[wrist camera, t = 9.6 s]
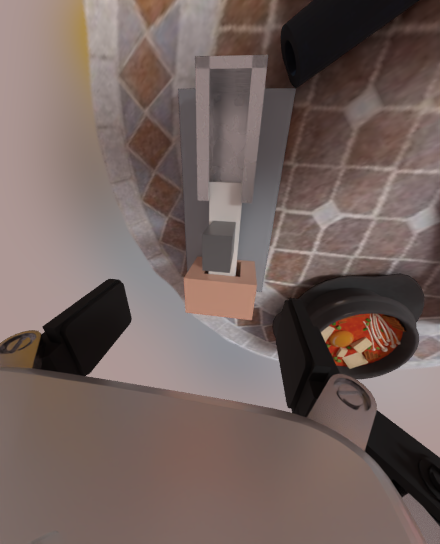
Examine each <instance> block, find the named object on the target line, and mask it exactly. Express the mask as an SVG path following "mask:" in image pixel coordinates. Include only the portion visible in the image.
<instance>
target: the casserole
mask: <svg viewBox="0 0 440 544" xmlns="http://www.w3.org/2000/svg"><path fill="white" fill-rule="evenodd" d="M299 299H301V300H302V302H303V304H304V306H305V308H306V311H307V313H308V315H309V317H310V320H311V322H312V324H313V325H314V326H317V327H318V328H319V330H320V332H321V334H322V336H323V338H324V340H325V343H326V345H327V347H328V349H329V351H330V353H331V355H332V357H333V359H334V361H335V364H336V366H337V368H338V370H339V372H340V374H344V375H347V376H350V377H352V378H354V379H366V378H373V377H377V376H380V375H383V374H386V373H389V372H391V371H393V370H395V369H397V368H399V367H400V366H402V365H403V364H404V363H406V362H407V361H408V360H409V359H410V358H411V357H412V356H413V354H414V353H415V351H416V349H417V347H418V343H419V334H418V331H417V329H416V322H417V321H418V319H419V317H420V316H421V314H422V311H423V307H424V294H423V291H422V289H421V287H420V286H419V284H418V283H417V282H416V280H414V279H413V278H411V277H410V276H407V275H403V274H392V275H383V276H344V277H337V278H334V279H330V280H327V281H324V282H322V283H320V284H317V285H315V286H314V287H312V288H311V289H309V290H308V291H306V292H305V293H304V294H303V295H302V296H301V297H300V298H299ZM281 315H282V312H281V313H279V314H278V315H277V316H276V317H275V319H274V321H273V332H274V335H275V337H276V336H277V332H278V328H279V324H280V319H281Z"/></svg>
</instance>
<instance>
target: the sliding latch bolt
mask: <svg viewBox="0 0 440 544" xmlns="http://www.w3.org/2000/svg"><path fill="white" fill-rule="evenodd" d="M241 192H242V183H239V182H217V181H214V182H210V200H209V226H208V227H207V229H206V230H205V231H204V232H203V234H202V271H209V274H214V275H225V276H235V277H236V266H237V255H238V243H239V232H240V220H241V209H242V203H241Z"/></svg>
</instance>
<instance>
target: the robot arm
mask: <svg viewBox="0 0 440 544" xmlns="http://www.w3.org/2000/svg"><path fill="white" fill-rule="evenodd" d="M130 323H131V314H130V309H129V306H128V301H127V297H126V293H125V288H124V284H123V283H121V281H120V280H116V279H108V280H106V281H105V282H103V283H102V284H101V285H99V286H98V287H97V288H95V289H94V290H93V291H91V292H90V293H88V294H87V295H85V296H84V297H83V298H81V299H80V300H79V301H77V302H76V303H74V304H73V305H72V306H71V307H69V308H68V309H66V310H65V311H63V312H62V313H61V314H59V315H58V316H57V317H55V318H54V319H52V320H51V321H50V322H48V323H47V324H45V325H44V326H43V329H44V331H45V332H44V333H43V334H42V335H41V333H40V332H39V331H35V330H29V331H25V332H21V333H18V334H15V335H13V336H11V337H9V338H7V339H5V340H4V341H2V342H1V343H0V544H440V458H439V457H438V456H437V455H435V454H434V453H433V452H431V451H430V450H429V449H427V448H426V447H425V446H423V445H422V444H421V443H420V442H418V441H417V440H416V439H414V438H413V437H412V436H410V435H409V434H408V433H406V432H405V431H403V430H402V429H401V428H400V427H398V426H397V425H396V424H395V423H393V422H392V421H390V420H389V419H388V418H387V417H385V416H384V415H383V414H381V413H380V412H379V411H377V404H376V401H375V399H374V397H373V395H372V394H371V392H370V391H369V390H368V389H367V388H366V387H365V386H364V385H363V384H362V383H360V382H359V381H358V380H356V379H354V378H352V377H350V376H347V375H344V374H340V372H339V370H338V368H337V366H336V364H335V361H334V359H333V357H332V355H331V353H330V351H329V349H328V347H327V345H326V343H325V340H324V338H323V336H322V334H321V332H320V330H319V328H318V327H317V326H314V325H313V324H312V322H311V320H310V317H309V315H308V313H307V311H306V308H305V306H304V304H303V302H302V300H301V299H295V298H289V301H288V300H286V301H285V303H284V307H283V311H282V315H281V319H280V324H279V328H278V332H277V336H276V345H277V351H278V356H279V362H280V368H281V374H282V379H283V385H284V391H285V397H286V402H287V406H288V408H291V409H292V413H290V412H286V411H282V410H277V409H273V408H268V407H263V406H257V405H252V404H247V403H242V402H236V401H231V400H225V399H219V398H213V397H207V396H202V395H195V394H190V393H184V392H178V391H172V390H166V389H160V388H154V387H148V386H142V385H136V384H130V383H123V382H118V381H111V380H105V379H99V378H93V377H87V376H86V375H87V374H89V373H90V372H91V371H92V370H93V369H94V368H95V366H96V365H97V364H98V363H99V361H100V360H101V359H102V358H103V356H104V355H105V354H106V353H107V351H108V350H109V349H110V348H111V347H112V345H113V344H114V343H115V342H116V340H117V339H118V338H119V337H120V335H121V334H122V333H123V332H124V330H125V329H126V328H127V327H128V325H129V324H130Z"/></svg>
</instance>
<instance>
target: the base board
mask: <svg viewBox="0 0 440 544" xmlns="http://www.w3.org/2000/svg"><path fill="white" fill-rule="evenodd" d="M295 90H296V88H265V90H264V99H263V108H262V117H261V126H260V135H259V144H258V153H257V162H256V171H255V180H254V189H253V198H252V203H242V209H241V220H240V232H239V243H238V255H237V260H244V261H255V270H256V280H257V289H256V292H262V287H263V281H264V275H265V269H266V263H267V257H268V251H269V245H270V239H271V233H272V227H273V221H274V215H275V209H276V203H277V197H278V191H279V185H280V180H281V174H282V168H283V162H284V156H285V150H286V144H287V138H288V132H289V126H290V120H291V114H292V108H293V102H294V96H295ZM178 94H179V115H180V135H181V155H182V176H183V196H184V217H185V237H186V258H187V272H188V271H189V269H190V267H191V266H192V264H193V263H194V261H195V260H196V258H197V256H198V257H202V234H203V232H204V231H205V230H206V229H207V227H208V226H209V201H199V200H198V195H197V134H196V89H178Z"/></svg>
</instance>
